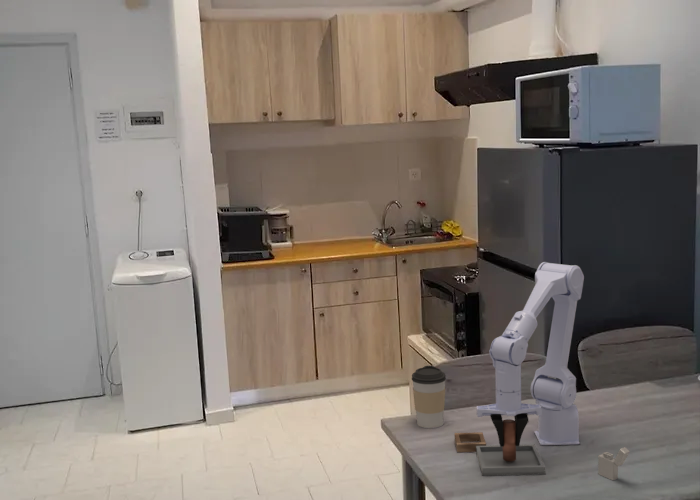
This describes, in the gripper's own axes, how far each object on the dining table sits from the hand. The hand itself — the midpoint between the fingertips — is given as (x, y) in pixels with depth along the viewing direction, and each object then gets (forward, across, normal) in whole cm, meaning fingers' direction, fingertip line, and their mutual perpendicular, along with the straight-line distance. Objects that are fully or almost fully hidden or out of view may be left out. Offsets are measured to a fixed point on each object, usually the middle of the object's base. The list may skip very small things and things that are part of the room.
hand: (509, 444), depth 170 cm
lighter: (+5, +21, -9) cm, 23 cm away
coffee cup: (+5, -17, +25) cm, 31 cm away
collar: (+5, -8, +10) cm, 14 cm away
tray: (+5, 0, 0) cm, 5 cm away
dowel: (+3, 0, 0) cm, 3 cm away
